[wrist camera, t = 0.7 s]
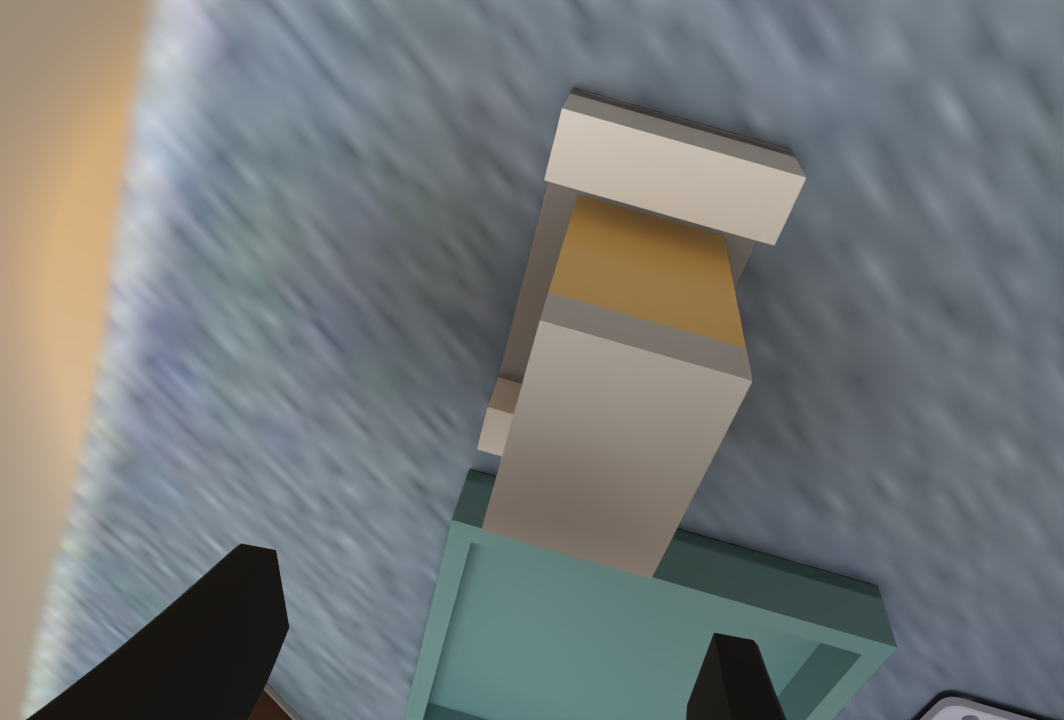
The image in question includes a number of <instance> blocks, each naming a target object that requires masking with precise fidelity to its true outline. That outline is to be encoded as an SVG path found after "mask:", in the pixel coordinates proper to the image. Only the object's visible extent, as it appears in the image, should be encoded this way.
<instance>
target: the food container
mask: <svg viewBox="0 0 1064 720" xmlns="http://www.w3.org/2000/svg"><path fill="white" fill-rule="evenodd" d="M248 720H302V719H301V718H300V717H299V716H298V715H297V714H296V713H295V712H294V711H293V710H292V709H291V707H290V706H289V705H288V704H287V703H286V702H285V701H284V700H283V699H282V698H281V697H280V696H279V695H278V694H277V693H276V692H275V691H274V690H273V689H272V688H271V687H270V686H269V684H268V683H266V685H265V688H264V690H263V692H262V694H261V696H260V697H259V699H258V701H257V703H256V705H255V707H254V709H253V711H252V712H251V714H250V716H249V718H248Z"/></svg>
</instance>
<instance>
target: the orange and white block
mask: <svg viewBox="0 0 1064 720" xmlns="http://www.w3.org/2000/svg"><path fill="white" fill-rule="evenodd" d="M752 381H753V380H752V375H751V370H750V365H749V360H748V355H747V350H746V345H745V340H744V335H743V330H742V325H741V320H740V315H739V310H738V305H737V300H736V295H735V289H734V284H733V279H732V274H731V269H730V264H729V259H728V254H727V249H726V244H725V239H724V236H721V235H718V234H714V233H711V232H707V231H704V230H700V229H697V228H693V227H690V226H686V225H683V224H679V223H676V222H672V221H669V220H665V219H662V218H658V217H655V216H651V215H648V214H644V213H640V212H637V211H633V210H630V209H626V208H623V207H619V206H616V205H612V204H609V203H605V202H602V201H598V200H595V199H591V198H588V197H584V196H581V195H578V196H577V199H576V202H575V206H574V209H573V212H572V216H571V219H570V222H569V226H568V229H567V232H566V236H565V239H564V242H563V245H562V249H561V252H560V255H559V259H558V262H557V265H556V269H555V272H554V275H553V279H552V282H551V285H550V289H549V292H548V295H547V299H546V302H545V305H544V308H543V312H542V315H541V318H540V322H539V325H538V329H537V333H536V336H535V340H534V343H533V347H532V351H531V354H530V358H529V361H528V365H527V368H526V372H525V376H524V379H523V383H522V386H521V390H520V394H519V397H518V401H517V404H516V408H515V411H514V415H513V419H512V422H511V426H510V429H509V433H508V436H507V440H506V444H505V447H504V451H503V454H502V458H501V462H500V465H499V469H498V472H497V476H496V479H495V483H494V487H493V490H492V494H491V497H490V501H489V505H488V508H487V512H486V515H485V519H484V522H483V526H482V531H485V532H489V533H492V534H496V535H499V536H503V537H506V538H510V539H513V540H516V541H520V542H523V543H527V544H530V545H534V546H537V547H541V548H544V549H548V550H551V551H555V552H558V553H562V554H565V555H569V556H572V557H576V558H579V559H583V560H586V561H590V562H593V563H597V564H600V565H604V566H607V567H611V568H614V569H618V570H621V571H625V572H628V573H632V574H635V575H639V576H642V577H646V578H649V579H651V578H652V576H653V574H654V572H655V570H656V568H657V567H658V565H659V563H660V561H661V559H662V557H663V555H664V553H665V551H666V549H667V547H668V545H669V543H670V541H671V539H672V537H673V535H674V533H675V531H676V530H677V528H678V526H679V524H680V522H681V520H682V518H683V516H684V514H685V512H686V510H687V508H688V506H689V504H690V502H691V500H692V498H693V496H694V494H695V492H696V491H697V489H698V487H699V485H700V483H701V481H702V479H703V477H704V475H705V473H706V471H707V469H708V467H709V465H710V463H711V461H712V459H713V457H714V455H715V454H716V452H717V450H718V448H719V446H720V444H721V442H722V440H723V438H724V436H725V434H726V432H727V430H728V428H729V426H730V424H731V422H732V420H733V418H734V417H735V415H736V413H737V411H738V409H739V407H740V405H741V403H742V401H743V399H744V397H745V395H746V393H747V391H748V389H749V387H750V385H751V383H752Z"/></svg>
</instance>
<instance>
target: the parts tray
mask: <svg viewBox="0 0 1064 720" xmlns="http://www.w3.org/2000/svg"><path fill="white" fill-rule="evenodd" d="M495 479H496V477H494V476H490V475H487V474H483V473H480V472H476V471H473V470H469V472H468V475H467V478H466V481H465V483H464V486H463V489H462V492H461V495H460V498H459V501H458V504H457V506H456V509H455V512H454V515H453V518H452V521H451V525H450V529H449V534H448V538H447V542H446V546H445V550H444V554H443V559H442V563H441V567H440V571H439V575H438V579H437V583H436V588H435V592H434V596H433V600H432V604H431V608H430V613H429V617H428V621H427V625H426V629H425V633H424V637H423V642H422V646H421V650H420V654H419V658H418V662H417V667H416V671H415V675H414V679H413V683H412V687H411V691H410V696H409V700H408V704H407V708H406V712H405V716H404V720H686V712H687V704H688V701H689V698H690V696H691V693H692V690H693V688H694V685H695V682H696V679H697V677H698V674H699V671H700V669H701V666H702V663H703V661H704V658H705V655H706V653H707V650H708V647H709V645H710V642H711V639H712V637H713V634H714V633H720V634H725V635H730V636H736V637H741V638H746V639H752V640H754V641H755V642H756V644H757V645H758V646H759V649H760V652H761V655H762V658H763V660H764V663H765V666H766V669H767V671H768V674H769V677H770V679H771V682H772V685H773V687H774V690H775V692H776V695H777V698H778V700H779V703H780V705H781V708H782V710H783V712H784V715H785V717H786V720H832V719H833V718H834V717H835V716H836V715H837V714H838V713H839V711H840V710H841V709H842V708H843V707H844V706H845V705H846V704H847V703H848V701H849V700H850V699H851V698H852V697H853V696H854V695H855V694H856V693H857V692H858V690H859V689H860V688H861V687H862V686H863V685H864V684H865V683H866V682H867V681H868V679H869V678H870V677H871V676H872V675H873V674H874V673H875V672H876V671H877V670H878V668H879V667H880V666H881V665H882V664H883V663H884V662H885V661H886V660H887V658H888V657H889V656H890V655H891V654H892V653H893V652H894V651H895V650H896V649H897V645H896V642H895V639H894V635H893V632H892V629H891V626H890V623H889V620H888V617H887V614H886V611H885V608H884V605H883V602H882V599H881V595H880V592H879V589H878V586H874V585H871V584H868V583H864V582H861V581H857V580H854V579H850V578H847V577H843V576H840V575H836V574H833V573H829V572H826V571H822V570H819V569H815V568H812V567H808V566H805V565H801V564H798V563H794V562H791V561H787V560H784V559H780V558H777V557H773V556H770V555H766V554H763V553H759V552H756V551H752V550H749V549H745V548H742V547H738V546H735V545H731V544H728V543H724V542H721V541H717V540H714V539H710V538H707V537H703V536H700V535H696V534H693V533H689V532H686V531H682V530H679V529H677V530H676V531H675V533H674V535H673V537H672V539H671V541H670V543H669V545H668V547H667V549H666V551H665V553H664V555H663V557H662V559H661V561H660V563H659V565H658V567H657V568H656V570H655V572H654V574H653V576H652V578H651V579H649V578H646V577H642V576H639V575H635V574H632V573H628V572H625V571H621V570H618V569H614V568H611V567H607V566H604V565H600V564H597V563H593V562H590V561H586V560H583V559H579V558H576V557H572V556H569V555H565V554H562V553H558V552H555V551H551V550H548V549H544V548H541V547H537V546H534V545H530V544H527V543H523V542H520V541H516V540H513V539H510V538H506V537H503V536H499V535H496V534H492V533H489V532H485V531H482V526H483V522H484V519H485V515H486V512H487V508H488V505H489V501H490V497H491V494H492V490H493V487H494V483H495Z"/></svg>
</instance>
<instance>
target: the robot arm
mask: <svg viewBox="0 0 1064 720" xmlns="http://www.w3.org/2000/svg"><path fill="white" fill-rule="evenodd" d="M288 629H289V623H288V617H287V612H286V606H285V600H284V594H283V588H282V582H281V576H280V571H279V565H278V559H277V553H276V550H273V549H267V548H262V547H257V546H251V545H246V544H240V545H238V546H237V547H235V548H234V549H233V550H232V551H231V552H230V553H229V554H227V555H226V556H225V557H224V558H223V559H222V560H221V561H220V562H218V563H217V564H216V565H215V566H214V567H213V568H212V569H211V570H209V571H208V572H207V573H206V574H205V575H204V576H203V577H202V578H200V579H199V580H198V581H197V582H196V583H195V584H194V585H193V586H191V587H190V588H189V589H188V590H187V591H186V592H185V593H183V594H182V595H181V596H180V597H179V598H178V599H177V600H175V601H174V602H173V603H172V604H171V605H170V606H168V607H167V608H166V609H165V610H164V611H163V612H162V613H160V614H159V615H158V616H157V617H156V618H154V619H153V620H152V621H151V622H150V623H148V624H147V625H146V626H145V627H144V628H142V629H141V630H140V631H139V632H138V633H136V634H135V635H134V636H133V637H132V638H131V639H129V640H128V641H127V642H126V643H125V644H123V645H122V646H121V647H120V648H119V649H117V650H116V651H115V652H114V653H112V654H111V655H110V656H109V657H107V658H106V659H105V660H104V661H102V662H101V663H100V664H99V665H97V666H96V667H95V668H93V669H92V670H91V671H90V672H88V673H87V674H86V675H84V676H83V677H82V678H81V679H79V680H78V681H77V682H75V683H74V684H73V685H72V686H70V687H69V688H68V689H66V690H65V691H64V692H63V693H61V694H60V695H59V696H57V697H56V698H55V699H54V700H52V701H51V702H50V703H48V704H47V705H46V706H44V707H43V708H41V709H40V710H39V711H37V712H36V713H35V714H33V715H32V716H30V717H29V718H28V719H26V720H248V718H249V716H250V714H251V712H252V711H253V709H254V707H255V705H256V703H257V701H258V699H259V697H260V696H261V694H262V692H263V690H264V688H265V685H266V683H267V681H268V678H269V676H270V674H271V671H272V669H273V667H274V664H275V662H276V659H277V657H278V654H279V652H280V649H281V647H282V644H283V642H284V639H285V637H286V634H287V632H288ZM686 720H786V717H785V715H784V712H783V710H782V708H781V705H780V703H779V700H778V698H777V695H776V692H775V690H774V687H773V685H772V682H771V679H770V677H769V674H768V671H767V669H766V666H765V663H764V660H763V658H762V655H761V652H760V649H759V646H758V645H757V644H756V642H755V641H754V640H752V639H746V638H741V637H736V636H730V635H725V634H720V633H714V634H713V637H712V639H711V642H710V645H709V647H708V650H707V653H706V655H705V658H704V661H703V663H702V666H701V669H700V671H699V674H698V677H697V679H696V682H695V685H694V688H693V690H692V693H691V696H690V698H689V701H688V704H687V712H686ZM920 720H1035V719H1032V718H1028V717H1025V716H1021V715H1018V714H1015V713H1011V712H1008V711H1004V710H1001V709H997V708H994V707H990V706H987V705H983V704H980V703H976V702H973V701H969V700H966V699H962V698H958V697H946V698H943V699H941V700H940V701H938V702H937V703H936V704H935V705H934V706H933V707H932V708H931V709H930V710H929V711H928V712H927V713H926V714H925V715H924V716H923V717H922V718H921V719H920Z"/></svg>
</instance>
